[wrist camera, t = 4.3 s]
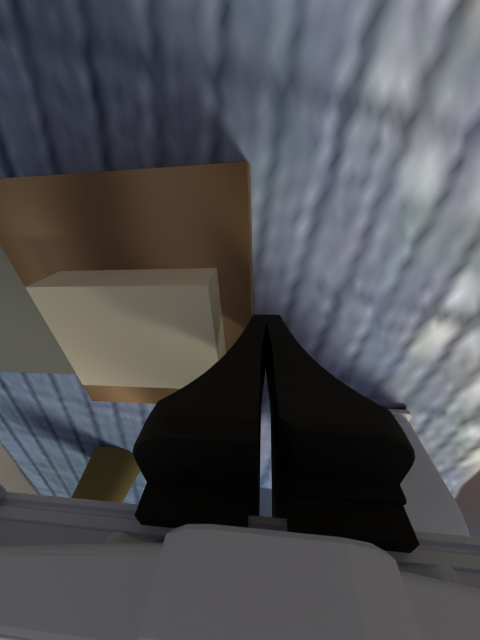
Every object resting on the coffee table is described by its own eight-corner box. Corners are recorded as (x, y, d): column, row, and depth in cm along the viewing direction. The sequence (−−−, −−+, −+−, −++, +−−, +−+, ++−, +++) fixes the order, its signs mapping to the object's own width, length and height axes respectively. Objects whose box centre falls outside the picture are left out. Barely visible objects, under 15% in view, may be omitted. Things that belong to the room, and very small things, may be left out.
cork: (117, 441, 26) (34, 591, 16) (152, 468, 28) (97, 610, 19) (82, 451, 28) (-9, 589, 18) (118, 475, 30) (53, 607, 21)
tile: (216, 267, 11) (207, 285, 9) (227, 364, 14) (221, 390, 12) (60, 270, 12) (25, 287, 10) (103, 361, 15) (82, 384, 13)
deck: (250, 165, 11) (245, 161, 8) (255, 376, 18) (253, 408, 16) (25, 180, 12) (-38, 180, 10) (114, 371, 20) (92, 400, 17)
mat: (17, 180, 12) (9, 180, 12) (109, 371, 20) (106, 375, 19) (-137, 190, 13) (-147, 191, 13) (5, 368, 21) (1, 371, 20)
